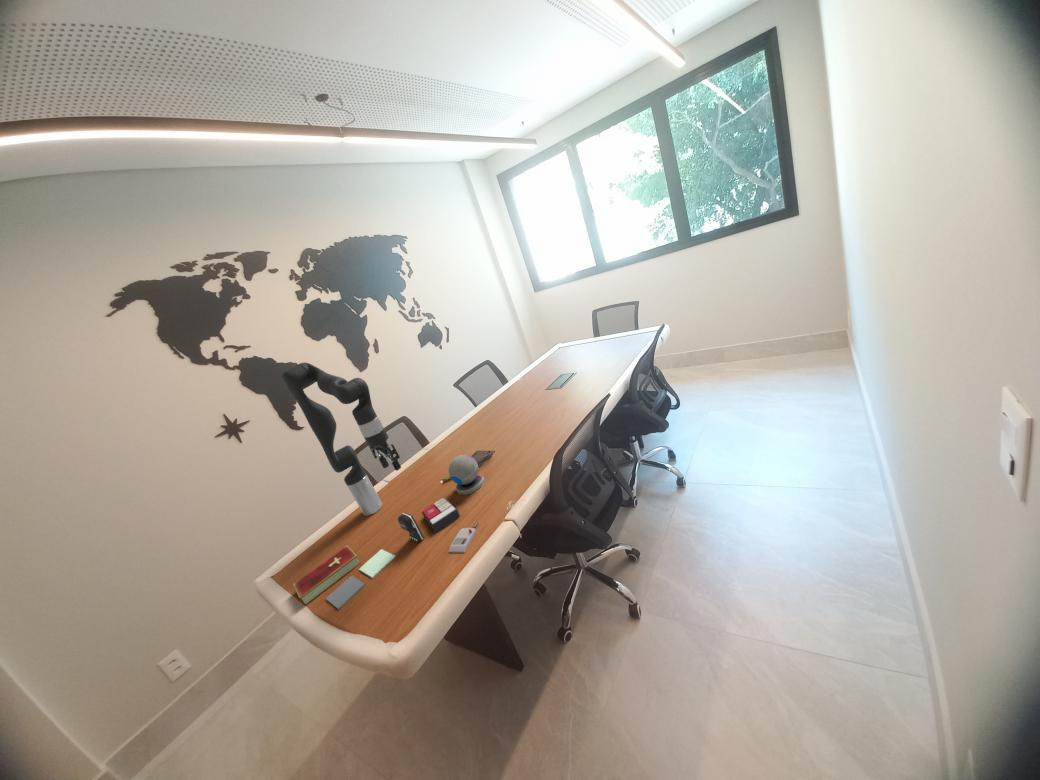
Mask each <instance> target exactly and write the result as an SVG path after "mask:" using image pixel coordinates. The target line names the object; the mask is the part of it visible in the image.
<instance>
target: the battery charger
mask: <svg viewBox="0 0 1040 780" xmlns="http://www.w3.org/2000/svg"><path fill="white" fill-rule="evenodd" d="M397 522H398V524H399V526H400V528H401V529H402V530H404V531H407V532H408V533H409V540H410V541H412V542H414V543H416V544H419V543H420V542H422V541H423V540H424V539H425V537H424V536H423V533H422V531H421V529H420V527H419V525H418V523H417V521H416V520H415V518H414V516H413V515H412V514H410V513H408V512H402V513H401V514H400V516H398V517H397Z"/></svg>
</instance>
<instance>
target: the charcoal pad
mask: <svg viewBox="0 0 1040 780" xmlns="http://www.w3.org/2000/svg"><path fill="white" fill-rule="evenodd" d="M365 586H366V584H365V582H364V583H363V582H362V581H360V580H359V579H357V578H356V577H354V576H353V575H351V576H350V577H348V578H347V579H346V580H345V581H343V582H342V583H341V584H339V586H338V587H337V588H336V589H334V590H333V591H332V592H331V593H330V594H329V595H328V596H327V597H326V598H325V599H326V601H328V602H329V603H330V604H332V605H333V607H335V608H336V609H338V610H340V609H342V608H343V606H345V605H346V603H348V602H349V601H350V600H351V599H352V598H353V597H354V596H355V595H356V594H358V593H359V592H360V590H362V589H363V588H364V587H365Z"/></svg>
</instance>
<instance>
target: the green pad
mask: <svg viewBox="0 0 1040 780" xmlns="http://www.w3.org/2000/svg"><path fill="white" fill-rule="evenodd" d="M395 558H396V555H395V554H392V553H390V552H388V551H386V550H385V549H382V548H381V549H380V550H378V551H377V553H375V554H374V555H373V556H372V557H371V558H370V559H368V560H367V561H366V562H365V563H364V564H363V565H362V566H361V567H360V568H358V570H359V571H360V572H362V573H363V574H365V575H366V576H368V577H370V578H372V579H374V577H376V576H377V574H379V573H380V572H381V571H382V570H383V569H384V568H385V567H387V565H389V564H390V563H391V561H393V560H394V559H395Z"/></svg>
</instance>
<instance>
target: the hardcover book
mask: <svg viewBox="0 0 1040 780" xmlns="http://www.w3.org/2000/svg"><path fill="white" fill-rule="evenodd" d="M359 564H360V561H359V559H358V555H357V554H356V553H355V552H354V551H353V549H352V548H350V546H349V545H348V544H347V545H345V546H344V547H343V548H341V549H340V550H338V551H337V552H336V553H335V554H332V555H331V557H329V558H327V559H326V560H324V561H323V562H322V563H321V564H319V565H318V566H316V567H315V568H314V569H312V570H311V571H309V572H308V573H307V574H305V575H304V576H303V577H301V578H300V579H299V580H297V581H296V582H294V583H293V584H292V586H293V588H294V590H295V591H296V594H297V596H298V598H299V600H302V601H303V603H304V604H306V605H307V604H308V603H310V602H311V601H312V600H313V599H315V598H316V597H317V596H319V595H320V594H321V593H323V592H324V591H325V590H327V589H328V588H329V587H331V586H332V585H334V583H336V582H337V581H338V580H340V579H341V578H342V577H344V576H345V575H346V574H347V573H348V572H350V571H351V570H353V569H354V568H355V567H357V565H359Z"/></svg>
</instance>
